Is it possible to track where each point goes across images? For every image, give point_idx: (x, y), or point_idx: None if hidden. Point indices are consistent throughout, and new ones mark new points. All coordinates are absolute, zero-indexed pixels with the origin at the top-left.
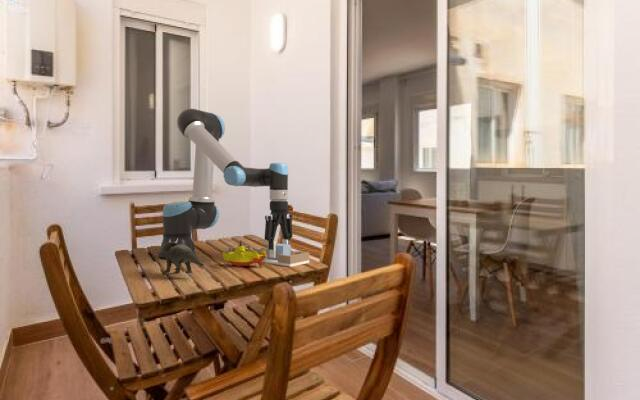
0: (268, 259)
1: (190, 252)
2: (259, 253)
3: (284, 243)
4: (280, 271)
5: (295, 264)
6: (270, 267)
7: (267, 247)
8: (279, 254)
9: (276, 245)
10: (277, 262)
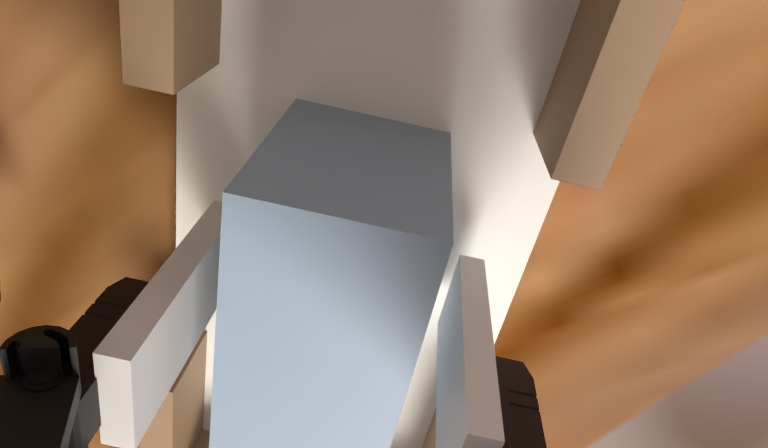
0: (242, 155)
1: None
2: (132, 56)
3: (448, 414)
4: None
5: None
6: (49, 308)
7: (244, 166)
8: None
9: (213, 383)
10: None
